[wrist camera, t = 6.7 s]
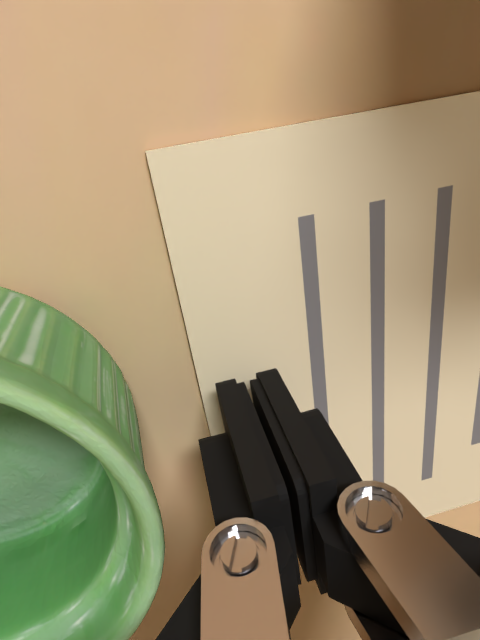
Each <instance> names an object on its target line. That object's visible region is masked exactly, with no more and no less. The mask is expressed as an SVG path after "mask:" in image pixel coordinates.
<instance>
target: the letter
mask: <svg viewBox="0 0 480 640" xmlns="http://www.w3.org/2000/svg"><path fill="white" fill-rule="evenodd" d="M145 152H146V156H147V161H148V165H149V169H150V174H151V178H152V182H153V187H154V191H155V195H156V200H157V204H158V208H159V213H160V217H161V222H162V226H163V230H164V235H165V239H166V243H167V248H168V252H169V256H170V261H171V265H172V269H173V274H174V278H175V282H176V287H177V291H178V296H179V300H180V304H181V309H182V313H183V317H184V322H185V326H186V330H187V335H188V339H189V343H190V348H191V352H192V356H193V361H194V365H195V369H196V374H197V378H198V383H199V387H200V391H201V396H202V400H203V404H204V409H205V413H206V417H207V422H208V426H209V430H210V435H211V436H214V435H218V434H222V433H225V429H224V424H223V420H222V415H221V410H220V405H219V401H218V396H217V391H216V386H215V383H218V382H222V381H226V380H230V379H234V378H235V380H236V382H237V383H241V382H244V383H245V385H246V387H247V390H248V392H249V395H250V397H251V400H252V402H253V399H252V393H251V387H250V380H252V379H256V373H258V372H262V371H266V370H270V369H274V368H276V369H277V370H278V372H279V374H280V376H281V377H282V379H283V381H284V383H285V385H286V387H287V388H288V390H289V392H290V394H291V396H292V398H293V399H294V401H295V403H296V405H297V407H298V409H299V411H300V412H305V411H308V410H312V409H316V408H317V409H319V410H320V412H321V413H322V415H323V416H324V418H325V420H326V421H327V423H328V425H329V426H330V428H331V429H332V431H333V433H334V434H335V436H336V438H337V439H338V441H339V443H340V444H341V446H342V448H343V449H344V451H345V452H346V454H347V456H348V457H349V459H350V461H351V462H352V464H353V466H354V467H355V469H356V470H357V472H358V474H359V475H360V477H361V479H362V480H363V481H378V482H383V483H386V484H388V485H390V486H392V487H394V488H396V489H397V490H398V491H399V492H401V493H402V494H403V495H404V496H405V497H406V498H407V499H408V500H409V501H410V503H411V504H412V505H413V506H414V507H415V508H416V509H417V510H418V511H419V512H420V513H421V514H422V516H423V517H424V518H425V517H429V516H432V515H435V514H438V513H442V512H445V511H448V510H451V509H455V508H458V507H461V506H464V505H467V504H471V503H474V502H477V501H480V91H476V92H470V93H464V94H459V95H453V96H448V97H442V98H437V99H431V100H426V101H420V102H414V103H409V104H403V105H398V106H392V107H387V108H381V109H376V110H370V111H364V112H359V113H353V114H348V115H342V116H337V117H331V118H326V119H320V120H314V121H309V122H303V123H298V124H292V125H287V126H281V127H276V128H270V129H264V130H259V131H253V132H248V133H242V134H237V135H231V136H226V137H220V138H215V139H209V140H203V141H198V142H192V143H187V144H181V145H176V146H170V147H165V148H159V149H153V150H148V151H145ZM297 557H298V556H297Z"/></svg>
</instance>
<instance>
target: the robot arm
mask: <svg viewBox="0 0 480 640" xmlns="http://www.w3.org/2000/svg"><path fill="white" fill-rule="evenodd" d="M215 386H216V391H217V396H218V401H219V405H220V410H221V415H222V420H223V424H224V429H225V433H222V434H218V435H214V436H211V437H207V438H203V439H199V445H200V450H201V455H202V460H203V465H204V470H205V475H206V480H207V485H208V490H209V495H210V500H211V505H212V510H213V515H214V520H215V525H216V527H215V528H214V529H213V530H212V531H211V532H210V533H209V534H208V536H207V538H206V540H205V542H204V544H203V549H202V554H201V575H200V576H199V578H198V579H197V581H196V582H195V583H194V585H193V586H192V588H191V589H190V591H189V592H188V594H187V595H186V596H185V598H184V599H183V601H182V602H181V604H180V605H179V607H178V608H177V610H176V611H175V612H174V614H173V615H172V617H171V618H170V620H169V621H168V623H167V624H166V625H165V627H164V628H163V630H162V631H161V633H160V634H159V636H158V637H157V639H156V640H291V636H290V628H291V626H292V624H293V622H294V620H295V617H296V615H297V613H298V611H299V609H300V607H301V603H300V596H299V590H298V585H299V584H301V579H300V572H299V565H298V558H299V561H300V564H301V567H302V569H303V572H304V575H305V577H306V579H307V581H308V582H309V581H312V580H316V583H317V585H318V588H319V590H320V593H321V594H324V593H328V596H329V597H330V598H332V599H334V600H336V601H338V602H340V603H342V604H344V606H345V609H346V611H347V614H348V616H349V618H350V620H351V621H352V623H353V625H354V626H355V628H356V630H357V632H358V633H359V635H360V637H361V638H362V640H480V538H478V537H475V536H472V535H470V534H467V533H464V532H461V531H458V530H456V529H453V528H450V527H447V526H444V525H442V524H439V523H436V522H433V521H431V520H428V519H425V518H424V517H423V516H422V514H421V513H420V512H419V511H418V510H417V509H416V508H415V507H414V506H413V505H412V504H411V503H410V501H409V500H408V499H407V498H406V497H405V496H404V495H403V494H402V493H401V492H399V491H398V490H397V489H396V488H394V487H392V486H390V485H388V484H386V483H383V482H378V481H363V480H362V479H361V477H360V475H359V474H358V472H357V470H356V469H355V467H354V466H353V464H352V462H351V461H350V459H349V457H348V456H347V454H346V452H345V451H344V449H343V448H342V446H341V444H340V443H339V441H338V439H337V438H336V436H335V434H334V433H333V431H332V429H331V428H330V426H329V425H328V423H327V421H326V420H325V418H324V416H323V415H322V413H321V412H320V410H319V409H317V408H316V409H312V410H308V411H305V412H300V411H299V409H298V407H297V405H296V403H295V401H294V399H293V398H292V396H291V394H290V392H289V390H288V388H287V387H286V385H285V383H284V381H283V379H282V377H281V376H280V374H279V372H278V370H277V369H276V368H274V369H270V370H266V371H262V372H258V373H256V379H252V380H250V387H251V393H252V399H253V402H252V400H251V397H250V395H249V392H248V390H247V387H246V385H245V383H244V382H241V383H237V382H236V380H235V378H234V379H230V380H226V381H222V382H218V383H215ZM297 556H298V558H297Z"/></svg>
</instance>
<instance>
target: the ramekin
mask: <svg viewBox="0 0 480 640" xmlns="http://www.w3.org/2000/svg"><path fill="white" fill-rule="evenodd" d="M164 552H165V542H164V530H163V524H162V518H161V514H160V510H159V506H158V503H157V499H156V496H155V493H154V490H153V487H152V484H151V482H150V480H149V477H148V475H147V473H146V471H145V468H144V461H143V453H142V446H141V439H140V432H139V426H138V420H137V415H136V411H135V406H134V403H133V399H132V395H131V392H130V389H129V387H128V385H127V383H126V382H125V380H124V378H123V375H122V372H121V370H120V369H119V367H118V366H117V364H116V363H115V361H114V360H113V359H112V357H111V356H110V354H109V353H108V352H107V351H106V350H105V349H104V348H103V347H102V345H101V344H100V343H99V342H98V341H97V340H96V339H95V338H94V337H93V336H92V335H91V334H90V333H89V332H88V331H86V330H85V329H84V328H82V327H81V326H80V325H79V324H77V323H76V322H75V321H73V320H72V319H71V318H69V317H67V316H66V315H64V314H63V313H61V312H60V311H58V310H56V309H54V308H53V307H51V306H49V305H47V304H45V303H43V302H41V301H38V300H36V299H34V298H32V297H30V296H27V295H24V294H21V293H18V292H15V291H12V290H9V289H6V288H3V287H0V640H128V639H129V638H130V637H131V636H132V635H133V633H134V632H135V631H136V630H137V628H138V627H139V625H140V623H141V622H142V620H143V618H144V617H145V615H146V613H147V612H148V610H149V608H150V606H151V604H152V601H153V599H154V597H155V594H156V592H157V589H158V586H159V583H160V579H161V575H162V570H163V563H164Z"/></svg>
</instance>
